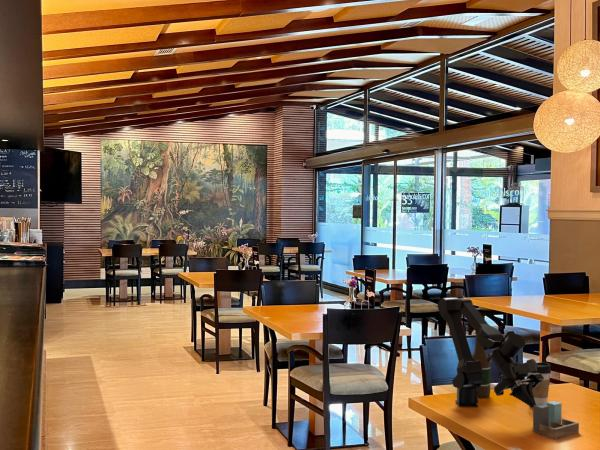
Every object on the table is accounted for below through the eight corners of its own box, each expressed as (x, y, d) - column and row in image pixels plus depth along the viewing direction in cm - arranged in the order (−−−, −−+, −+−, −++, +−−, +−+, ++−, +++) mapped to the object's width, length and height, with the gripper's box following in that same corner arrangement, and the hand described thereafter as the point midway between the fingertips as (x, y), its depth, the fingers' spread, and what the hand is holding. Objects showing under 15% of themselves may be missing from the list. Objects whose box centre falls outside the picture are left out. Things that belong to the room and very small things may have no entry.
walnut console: (539, 434, 204) (539, 424, 204) (562, 428, 210) (563, 418, 210) (555, 439, 199) (555, 429, 199) (578, 432, 206) (578, 423, 206)
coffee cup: (552, 410, 230) (553, 366, 230) (526, 408, 232) (527, 365, 231) (548, 403, 238) (549, 361, 238) (523, 402, 240) (524, 360, 240)
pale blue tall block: (546, 427, 210) (546, 402, 210) (552, 425, 212) (553, 400, 212) (554, 430, 208) (554, 404, 208) (561, 428, 210) (561, 403, 210)
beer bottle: (478, 399, 242) (479, 333, 242) (464, 394, 249) (465, 330, 249) (494, 397, 246) (495, 332, 246) (479, 392, 253) (481, 329, 252)
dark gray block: (533, 431, 207) (533, 405, 207) (540, 429, 209) (540, 403, 208) (541, 433, 204) (541, 407, 204) (548, 431, 206) (548, 406, 206)
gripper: (501, 353, 207) (531, 397, 198) (539, 348, 218) (569, 389, 209) (481, 374, 214) (509, 417, 205) (519, 367, 224) (547, 408, 215)
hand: (534, 407), depth 208 cm, fingers closed
